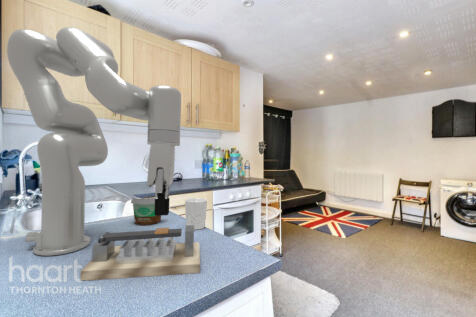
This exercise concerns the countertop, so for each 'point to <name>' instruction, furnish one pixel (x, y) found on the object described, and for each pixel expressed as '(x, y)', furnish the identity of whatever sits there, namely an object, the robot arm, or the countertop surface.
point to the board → (143, 266)
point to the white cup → (196, 212)
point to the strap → (140, 235)
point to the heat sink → (143, 250)
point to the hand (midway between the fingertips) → (161, 214)
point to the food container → (145, 211)
